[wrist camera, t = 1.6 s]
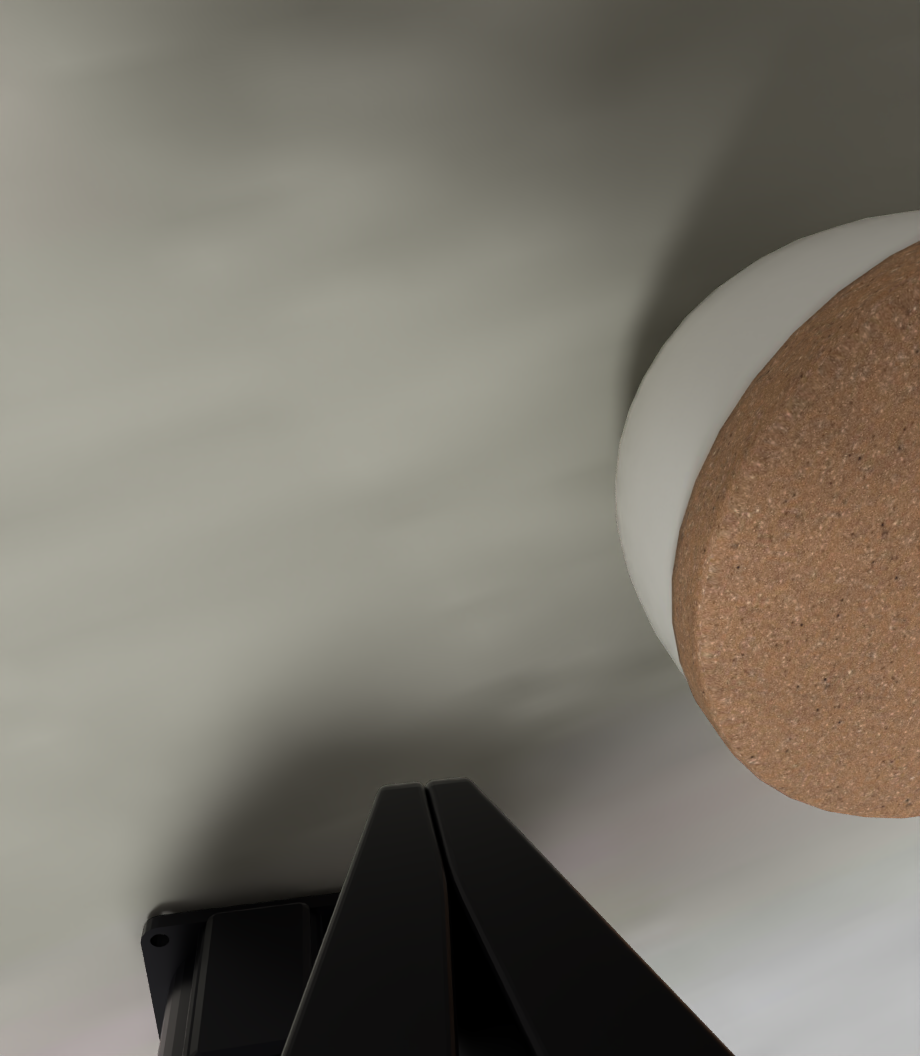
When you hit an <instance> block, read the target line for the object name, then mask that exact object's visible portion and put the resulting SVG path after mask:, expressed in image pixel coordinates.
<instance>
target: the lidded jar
mask: <svg viewBox="0 0 920 1056" xmlns="http://www.w3.org/2000/svg"><path fill="white" fill-rule="evenodd" d="M615 498H616V523H617V528H618V532H619V537H620V542H621V546H622V551H623V555H624V559H625V562H626V566H627V569H628V572H629V576H630V579H631V581H632V583H633V586H634V588H635V591H636V593H637V595H638V598H639V600H640V603H641V605H642V607H643V609H644V611H645V613H646V615H647V618H648V620H649V622H650V624H651V626H652V628H653V630H654V632H655V634H656V635H657V637H658V638H659V640H660V641H661V643H662V644H663V646H664V647H665V649H666V650H667V652H668V653H669V655H670V656H671V658H672V659H673V661H674V662H675V664H676V665H677V667H678V668H679V670H680V671H681V673H682V674H683V676H684V677H685V679H686V680H687V682H688V684H689V687H690V689H691V692H692V694H693V696H694V698H695V700H696V702H697V704H698V705H699V707H700V708H701V709H702V711H703V712H704V714H705V715H706V717H707V718H708V720H709V721H710V723H711V724H712V726H713V727H714V729H715V730H716V732H717V733H718V734H719V736H720V737H721V739H722V740H723V742H724V743H725V744H726V746H727V747H728V748H729V750H730V751H731V752H732V753H733V755H734V756H735V757H736V758H737V759H738V760H739V761H741V762H742V763H743V764H744V765H745V766H746V767H747V768H748V769H749V770H750V771H751V772H752V773H753V774H754V775H755V776H756V777H757V778H759V779H760V780H761V781H763V782H765V783H766V784H768V785H770V786H771V787H773V788H775V789H776V790H778V791H779V792H781V793H783V794H784V795H786V796H788V797H790V798H792V799H795V800H798V801H801V802H803V803H806V804H809V805H812V806H814V807H817V808H820V809H823V810H826V811H830V812H837V813H843V814H849V815H856V816H862V817H880V818H908V817H916V816H920V210H917V211H909V212H902V213H896V214H889V215H882V216H876V217H869V218H864V219H861V220H857V221H854V222H851V223H847V224H844V225H840V226H837V227H834V228H831V229H828V230H824V231H821V232H818V233H815V234H812V235H809V236H806V237H803V238H800V239H797V240H795V241H793V242H791V243H789V244H788V245H786V246H784V247H782V248H780V249H778V250H776V251H774V252H772V253H770V254H768V255H766V256H764V257H762V258H760V259H759V260H757V261H755V262H754V263H752V264H751V265H749V266H748V267H746V268H745V269H743V270H742V271H740V272H739V273H738V274H736V275H735V276H733V277H732V278H731V279H729V280H728V281H726V282H725V283H724V284H722V285H721V286H719V287H718V288H716V289H715V290H714V291H713V292H712V293H711V294H710V295H709V296H708V297H706V298H705V299H704V300H703V301H702V302H701V303H700V304H699V305H698V306H697V307H696V308H695V309H694V310H693V311H691V312H690V313H689V314H688V315H687V316H686V317H685V319H684V320H683V321H682V322H681V324H680V325H679V326H678V327H677V329H676V330H675V331H674V332H673V333H672V335H671V336H670V337H669V338H668V340H667V341H666V342H665V343H664V345H663V346H662V347H661V349H660V351H659V352H658V354H657V356H656V357H655V359H654V361H653V362H652V364H651V365H650V367H649V369H648V370H647V372H646V374H645V375H644V377H643V379H642V381H641V384H640V386H639V388H638V390H637V393H636V395H635V397H634V400H633V402H632V404H631V406H630V409H629V412H628V415H627V419H626V422H625V426H624V430H623V433H622V437H621V440H620V445H619V453H618V461H617V470H616V482H615Z"/></svg>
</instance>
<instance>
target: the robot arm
mask: <svg viewBox="0 0 920 1056" xmlns="http://www.w3.org/2000/svg"><path fill="white" fill-rule="evenodd" d="M162 934H163V935H162ZM141 946H142V951H143V956H144V962H145V967H146V972H147V977H148V982H149V987H150V993H151V998H152V1003H153V1008H154V1013H155V1018H156V1024H157V1029H158V1034H159V1039H160V1045H159V1051H158V1056H735V1055H734V1054H733V1053H732V1052H731V1051H730V1050H729V1049H728V1048H727V1047H726V1046H725V1045H724V1044H723V1043H722V1042H721V1041H720V1039H719V1038H718V1037H717V1036H716V1035H715V1034H714V1033H713V1032H712V1031H711V1030H710V1029H709V1028H708V1027H707V1026H706V1025H705V1024H704V1023H703V1022H702V1021H701V1020H700V1019H699V1018H698V1016H697V1015H696V1014H695V1013H694V1012H693V1011H692V1010H691V1009H690V1008H689V1007H688V1006H687V1005H686V1004H685V1003H684V1002H683V1001H682V1000H681V999H680V998H679V997H678V996H677V995H676V993H675V992H674V991H673V990H672V989H671V988H670V987H669V986H668V985H667V984H666V983H665V982H664V981H663V980H662V979H661V978H660V977H659V976H658V975H657V974H656V973H655V972H654V970H653V969H652V968H651V967H650V966H649V965H648V964H647V963H646V962H645V961H644V960H643V959H642V958H641V957H640V956H639V955H638V954H637V953H636V952H635V951H634V950H633V949H632V948H631V946H630V945H629V944H628V943H627V942H626V941H625V940H624V939H623V938H622V937H621V936H620V935H619V934H618V933H617V932H616V931H615V930H614V929H613V928H612V927H611V926H610V925H609V923H608V922H607V921H606V920H605V919H604V918H603V917H602V916H601V915H600V914H599V913H598V912H597V911H596V910H595V909H594V908H593V907H592V906H591V905H590V904H589V903H588V902H587V900H586V899H585V898H584V897H583V896H582V895H581V894H580V893H579V892H578V891H577V890H576V889H575V888H574V887H573V886H572V885H571V884H570V883H569V882H568V881H567V880H566V879H565V877H564V876H563V875H562V874H561V873H560V872H559V871H558V870H557V869H556V868H555V867H554V866H553V865H552V864H551V863H550V862H549V861H548V860H547V859H546V858H545V857H544V856H543V855H542V853H541V852H540V851H539V850H538V849H537V848H536V847H535V846H534V845H533V844H532V843H531V842H530V841H529V840H528V839H527V838H526V837H525V836H524V835H523V834H522V833H521V832H520V830H519V829H518V828H517V827H516V826H515V825H514V824H513V823H512V822H511V821H510V820H509V819H508V818H507V817H506V816H505V815H504V814H503V813H502V812H501V811H500V810H499V809H498V807H497V806H496V805H495V804H494V803H493V802H492V801H491V800H490V799H489V798H488V797H487V796H486V795H485V794H484V793H483V792H482V791H481V790H480V789H479V788H478V787H477V786H476V785H475V783H474V782H473V781H471V780H470V779H468V778H466V777H456V778H446V779H437V780H431V781H429V782H428V783H427V784H426V785H425V788H424V786H423V785H422V784H421V783H419V782H408V783H398V784H388V785H383V786H382V787H380V789H379V790H378V792H377V794H376V796H375V799H374V802H373V805H372V807H371V810H370V813H369V816H368V818H367V821H366V824H365V827H364V829H363V832H362V835H361V838H360V840H359V843H358V846H357V849H356V851H355V854H354V857H353V860H352V862H351V865H350V868H349V871H348V873H347V876H346V879H345V882H344V884H343V887H342V890H341V893H334V894H326V895H318V896H310V897H302V898H295V899H287V900H279V901H271V902H263V903H255V904H247V905H239V906H231V907H223V908H215V909H207V910H199V911H191V912H183V913H176V914H168V915H160V916H156V917H153V918H151V919H149V920H148V921H147V922H146V923H145V925H144V928H143V933H142V937H141Z"/></svg>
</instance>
